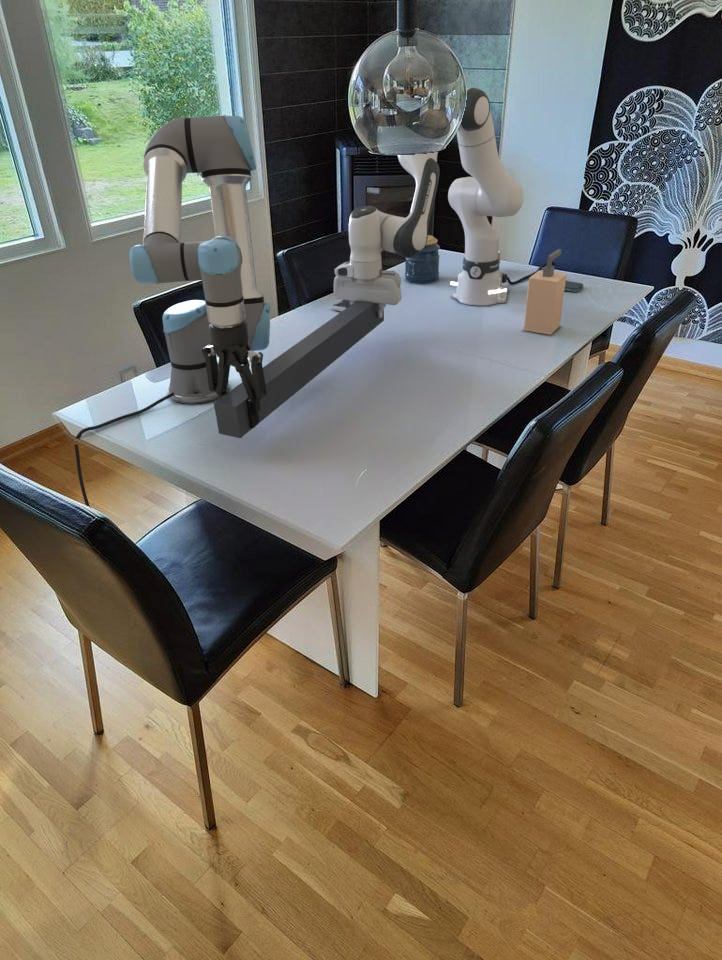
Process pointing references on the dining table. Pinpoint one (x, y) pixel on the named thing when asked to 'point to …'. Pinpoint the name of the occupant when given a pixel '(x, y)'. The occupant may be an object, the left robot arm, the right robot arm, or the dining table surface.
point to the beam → (298, 366)
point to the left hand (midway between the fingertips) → (242, 422)
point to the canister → (424, 264)
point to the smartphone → (341, 305)
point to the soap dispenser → (545, 299)
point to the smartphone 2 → (573, 286)
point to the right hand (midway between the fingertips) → (368, 316)
